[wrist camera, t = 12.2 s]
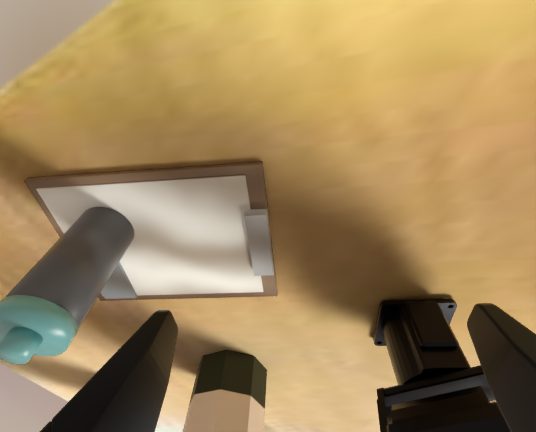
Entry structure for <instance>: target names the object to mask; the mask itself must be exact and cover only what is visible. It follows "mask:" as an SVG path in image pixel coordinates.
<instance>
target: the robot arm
mask: <svg viewBox="0 0 536 432" xmlns="http://www.w3.org/2000/svg"><path fill="white" fill-rule="evenodd" d="M456 307H457V304H456V302H455V301H454V300H453V299H436V300H394V301H383V302H381V303H380V306H379V312H378V317H377V323H376V328H375V334H374V339H373V340H374V344H375V345H377V346H387V349H388V353H389V356H390V359H391V363H392V366H393V369H394V373H395V376H396V379H397V383H398V385H397V386H393V387H389V388H385V389H384V388H380V389H377V396H378V399H377V405H378V414H379V422H380V431H381V432H536V334H535V333H533V332H532V331H531V330H529V329H528V328H526V327H525V326H524V325H522V324H521V323H520V322H518V321H517V320H515V319H514V318H513V317H511V316H510V315H508V314H507V313H506V312H504V311H503V310H502V309H500V308H499V307H497V306H496V305H494V304H491V303H479V304H476V305H475V306H474V308H473V310H472V312H471V314H470V316H469V319H468V321H467V327H468V331H469V333H470V336H471V339H472V342H473V344H474V347H475V350H476V353H477V355H478V358H479V361H480V364H481V365H480V366H476V367H472V368H471V367H470V365H469V363H468V361H467V359H466V357H465V355H464V353H463V351H462V349H461V348H460V346H459V343H458V341H457V339H456V337H455V335H454V333H453V331H452V329H451V327H450V325H449V324H450V322H451V319H452V317H453V315H454V312H455V310H456ZM177 333H178V328H177V324H176V322H175V320H174V317H173V315H172V313H171V312H170V311H169V310H159V311H156V312H155V313H154V314H153V315H152V316H151V317H150V318H149V319H148V320H147V321H146V322H145V323H144V324H143V325H142V326H141V327H140V328H139V329H138V330H137V331H136V332H135V333H134V335H133V336H132V337H131V338H130V339H129V340H128V341H127V342H126V343H125V344H124V345H123V346H122V347H121V348H120V349H119V350H118V351H117V352H116V353H115V354H114V355H113V356H112V357H111V358H110V359H109V360H108V362H107V363H106V364H105V365H104V366H103V367H102V368H101V369H100V370H99V371H98V372H97V373H96V374H95V375H94V376H93V377H92V378H91V379H90V380H89V381H88V382H87V383H86V384H85V385H84V386H83V387H82V389H81V390H80V391H79V392H78V393H77V394H76V395H75V396H74V397H73V398H72V399H71V400H70V401H69V402H68V403H67V404H66V405H65V406H64V407H63V408H62V409H61V411H59V413H57V414H56V416H55V417H54V418H53V419H52V422H49V423H48V424H47V425H46V426H45V427H44V428H43V429H42V430H41V431H40V432H155V428H156V425H157V421H158V418H159V414H160V411H161V407H162V404H163V400H164V397H165V393H166V390H167V386H168V382H169V377H170V372H171V367H172V361H173V355H174V350H175V344H176V339H177ZM493 400H496V402H497V403H495V402H493V403H490V402H489V401H493Z"/></svg>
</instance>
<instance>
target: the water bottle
mask: <svg viewBox="0 0 536 432" xmlns="http://www.w3.org/2000/svg"><path fill="white" fill-rule="evenodd" d="M133 239H134V229H133V226H132V224H131V223H130V222H129V220H128V219H127V218H126V217H125V216H123V215H122V214H120V213H119V212H117V211H115V210H112V209H110V208H105V207H93V208H90V209H88V210H86V211H85V212H84V213H83V214H82V215H81V216H80V217H79V218H78V219H77V220H76V222H75V223H74V224H73V225H72V226H71V227H70V228H69V229H68V230H67V231H66V232H65V233H64V234H63V236H62V237H61V238H60V239H59V240H58V241H57V242H56V243H55V244H54V245H53V246H52V247H51V248H50V250H49V251H48V252H47V253H46V254H45V255H44V256H43V257H42V258H41V259H40V260H39V261H38V262H37V263H36V265H35V266H34V267H33V268H32V269H31V270H30V271H29V272H28V273H27V274H26V275H25V276H24V277H23V279H22V280H21V281H20V282H19V283H18V284H17V285H16V286H15V287H14V288H13V289H12V290H11V291H10V293H9V294H8V295H7V296H6V297H5V298H3V299H2V300H1V301H0V359H2V360H4V361H6V362H10V363H14V364H25V363H27V362H28V361H29V360H30V359H31V357H32V356H33V355H36V356H55V355H59V354H61V353H63V352H65V351H66V349H67V348H68V346H69V345H70V343H71V341H72V340H73V338H74V336H75V335H76V333H77V331H78V328H79V327H80V325H81V323H82V322H83V320H84V318H85V317H86V315H87V314H88V312H89V310H90V309H91V307H92V305H93V304H94V302H95V301H96V299H97V297H98V296H99V294H100V292H101V291H102V289H103V288H104V286H105V284H106V283H107V281H108V280H109V278H110V276H111V275H112V273H113V271H114V270H115V268H116V267H117V265H118V263H119V262H120V260H121V258H122V257H123V255H124V254H125V252H126V250H127V249H128V247H129V245H130V244H131V242H132V241H133Z"/></svg>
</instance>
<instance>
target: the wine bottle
mask: <svg viewBox="0 0 536 432" xmlns="http://www.w3.org/2000/svg"><path fill="white" fill-rule="evenodd" d="M266 376H267V370H266V369H265V368H264V366H263V365H262V364H261V363H260V362H259V361H258V360H257V359H256V358H255V357H254V356H251V355H246V354H242V353H238V352H233V351H229V350H225V351H221V352H217V353H213V354H209V355H205V356H203V358H202V360H201V363H200V365H199V368H198V371H197V375H196V379H195V384H194V388H193V392H192V396H191V400H190V404H189V408H188V412H187V417H186V421H185V425H184V429H183V432H264V415H265V395H266Z"/></svg>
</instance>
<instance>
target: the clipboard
mask: <svg viewBox="0 0 536 432" xmlns="http://www.w3.org/2000/svg"><path fill="white" fill-rule="evenodd" d="M24 181H25V183H26V185H27V186H28V188H29V189H30V191H31V192H32V194H33V196H34V197H35V199H36V200H37V202H38V203H39V205H40V207H41V208H42V210H43V211H44V213H45V214H46V216H47V217H48V219H49V221H50V222H51V224H52V225H53V227H54V228H55V230H56V232H57V233H58V235H59V236H60V238H61V237H62V236H63V234H64V233H65V232H66V231H67V230H68V229H69V228H70V227H71V226H72V225H73V224H74V223H75V222H76V220H77V219H78V218H79V217H80V216H81V215H82V214H83V213H84V212H85V211H86V210H88V209H90V208H93V207H105V208H110V209H112V210H115V211H117V212H119V213H120V214H122V215H123V216H125V217H126V218H127V219H128V220H129V222H130V223H131V224H132V226H133V229H134V239H133V241H132V242H131V244H130V245H129V247H128V249H127V250H126V252H125V254H124V255H123V257H122V258H121V260H120V262H119V263H118V265H117V267H116V268H115V270H114V271H113V273H112V275H111V276H110V278H109V280H108V281H107V283H106V284H105V286H104V288H103V289H102V291H101V292H100V294H99V296H98V297H99V299H100V301H106V300H144V299H183V298H221V297H260V296H277V284H276V276H275V267H274V258H273V250H272V241H271V232H270V224H269V215H268V207H267V198H266V189H265V181H264V172H263V164H262V162H250V163H235V164H221V165H206V166H192V167H178V168H163V169H149V170H134V171H120V172H105V173H91V174H77V175H62V176H48V177H33V178H27V179H25V180H24Z"/></svg>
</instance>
